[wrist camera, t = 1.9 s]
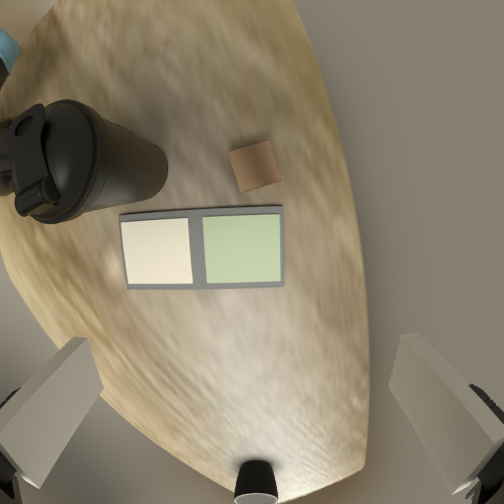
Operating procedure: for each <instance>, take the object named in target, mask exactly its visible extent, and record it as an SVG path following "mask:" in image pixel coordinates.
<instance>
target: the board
mask: <svg viewBox="0 0 504 504" xmlns="http://www.w3.org/2000/svg"><path fill="white" fill-rule="evenodd" d="M119 226H120V237H121V246H122V254H123V262H124V269H125V276H126V283H127V289H238V288H270V287H284V235H283V206H262V207H234V208H213V209H195V210H179V211H164V212H151V213H138V214H127V215H119Z"/></svg>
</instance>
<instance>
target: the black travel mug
mask: <svg viewBox="0 0 504 504" xmlns="http://www.w3.org/2000/svg"><path fill="white" fill-rule="evenodd" d="M6 144H7V148H8V150H9V152H10V153H11V155H12V159H11V182H12V186H13V190H14V193H15V195H16V197H15V208H16V210H17V212H18V213H19V214H20V215H21V216H23V217H26V216H28V215H30V216H31V217H33V218H34V219H35V220H37V221H39V222H41V223H45V224H57V223H61V222H66V221H70V220H73V219H75V218H77V217H79V216H80V215H82V214H83V213H85V212H90V211H94V210H98V209H103V208H108V207H112V206H117V205H122V204H127V203H132V202H137V201H143V200H147V199H149V198H151V197H153V196H155V195H156V194H157V193H158V192H159V191H160V190H161V188H162V187H163V185H164V183H165V181H166V178H167V174H168V164H167V160H166V157H165V155H164V153H163V152H162V150H161V149H160V148H159V147H157V146H156V145H154V144H152V143H150V142H149V141H147V140H145V139H143V138H141V137H139V136H137V135H135V134H133V133H132V132H130V131H128V130H127V129H125V128H123V127H121V126H119V125H117V124H114V123H112V122H110V121H108V120H106V119H104V118H102V117H101V116H100V115H99V114H98V113H97V112H96V111H95V110H94V109H93V108H91V107H89V106H87V105H85V104H82V103H80V102H78V101H74V100H69V99H65V100H59V101H56V102H53V103H51V104H49V105H48V106H46V107H45V108H44V106H43V104H40V103H39V104H36V105H34V106H32V107H30V108H29V109H27V110H26V111H25V112H23V113H22V114H21V115H19V116H18V117H17V118H16V119H15V120H14V121H13V122H12V123H11V124H10V126H9V128H8V131H7V136H6Z"/></svg>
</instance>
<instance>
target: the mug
mask: <svg viewBox="0 0 504 504" xmlns="http://www.w3.org/2000/svg"><path fill="white" fill-rule="evenodd" d="M234 502H235V503H236V504H276V503H277V502H278V492H277V485H276V480H275V476H274V473H273V470H272V468H271V467H270V465H269V464H267V463H265V462H262V461H250V462H247V463H245V464H243V465H242V467H241V468H240V470H239V473H238V477H237V481H236V487H235V494H234Z"/></svg>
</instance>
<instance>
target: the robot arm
mask: <svg viewBox="0 0 504 504" xmlns="http://www.w3.org/2000/svg"><path fill="white" fill-rule="evenodd" d="M19 55H20V46H19V44H18V43H17V42H16V41H15V40H14V39H13V38H12V37H11V36H9V35H8V34H7V33H5V32H4V31H3V30H2V29H0V90H1V88H2V86H3V84H4V82H5V81H6V79H7V77H8V76H9V75H10V73H11V70H12V68H13V66H14V64H15V62H16V61H17V59H18V57H19ZM14 120H15V119H13V118H5V119H1V120H0V196H6V195H9V194H10V193H12V192H13V191H14V190H13V186H12V182H11V159H12V155H11V153H10V152H9V150H8V148H7V144H6V136H7V131H8V128H9V126H10V124H11V123H12V122H13V121H14ZM388 387H389V388H390V390H391V392H392V393H393V395H394V396H395V398H396V400H397V401H398V403H399V405H400V406H401V408H402V410H403V411H404V413H405V414H406V416H407V418H408V419H409V421H410V423H411V424H412V426H413V428H414V430H415V431H416V433H417V435H418V436H419V438H420V440H421V441H422V443H423V445H424V446H425V448H426V450H427V452H428V454H429V455H430V457H431V459H432V461H433V462H434V464H435V466H436V468H437V470H438V471H439V473H440V475H441V477H442V479H443V481H444V482H445V484H446V486H447V488H448V490H449V492H450V494H451V495H452V494H454V493H456V492H458V491H460V490H462V489H464V488H465V487H467V486H469V484H470V483H471V482H472V481H473V480H474V479H475V478H476V477H478V478H479V480H480V481H479V482H478V483H477V484H476V485H475V486H474V487H473V488H472V489H471V490H470V491H469V493H468V494H467V495H466V497H465V499H467V498H469V497H470V496H471V495H472V494H473V493H474V495H473V497H472V498H471V499H473V500H472V504H504V412H503V411H502V410H501V409H500V408H499V407H498V406H496V404H495V403H494V401H493V400H490V397H489V396H488V395H487V394H486V393H485V392H484V391H483V390H482V389H480V388H478V387H477V386H474V385H473V384H471V385H467V384H466V383H465V381H464V380H463V379H462V378H461V377H460V376H459V375H458V374H457V373H456V372H455V371H454V370H453V369H452V368H451V367H450V366H449V365H448V364H447V363H446V362H445V361H444V360H443V359H442V358H441V357H440V356H439V355H438V354H437V353H436V352H435V351H434V350H433V349H432V348H431V347H430V346H429V345H428V344H427V343H426V342H425V341H424V340H423V339H422V338H421V337H420V336H419V335H418V334H417V333H410V334H404V335H401V338H400V343H399V347H398V352H397V356H396V360H395V364H394V367H393V371H392V375H391V378H390V382H389V385H388ZM103 388H104V387H103V384H102V382H101V379H100V376H99V373H98V370H97V367H96V364H95V361H94V358H93V355H92V352H91V348H90V345H89V342H88V338H81V337H75V336H74V337H73V338H72V339H71V340H70V341H69V342H68V343H67V344H66V345H65V346H64V347H63V348H61V349H60V350H59V351H58V352H57V353H56V354H55V355H54V356H53V357H52V358H51V359H50V360H49V361H48V362H47V363H46V364H45V365H44V366H43V367H42V368H40V369H39V370H38V371H37V372H36V373H35V374H34V375H33V376H32V377H31V378H30V379H29V380H28V381H27V382H26V383H25V384H24V385H23V386H22V387H20V388H19V389H17V390H15V391H13V392H12V393H11V394H10V395H9V396H8V397H7V398H6V401H3V402H2V403H1V404H0V504H22V500H21V496H20V490H19V484H18V480H17V478H16V476H15V475H14V474H15V472H16V471H17V472H18V473H19V474H20V475H21V476H22V477H23V479H24V480H25V481H27V482H29V483H30V484H32V485H34V486H35V487H37V488H39V489H40V487H41V486H42V484H43V482H44V480H45V479H46V477H47V475H48V474H49V472H50V470H51V468H52V467H53V465H54V464H55V462H56V461H57V459H58V457H59V455H60V454H61V452H62V451H63V449H64V448H65V446H66V444H67V443H68V441H69V440H70V438H71V437H72V435H73V433H74V432H75V430H76V429H77V427H78V426H79V424H80V422H81V421H82V419H83V418H84V417H85V415H86V414H87V412H88V411H89V409H90V408H91V406H92V405H93V403H94V402H95V400H96V399H97V397H98V396H99V394H100V393H101V391H102V390H103Z"/></svg>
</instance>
